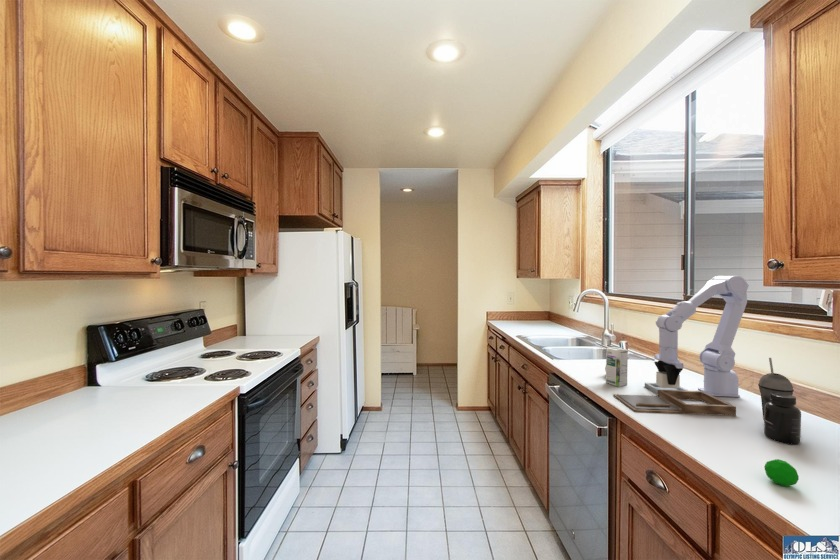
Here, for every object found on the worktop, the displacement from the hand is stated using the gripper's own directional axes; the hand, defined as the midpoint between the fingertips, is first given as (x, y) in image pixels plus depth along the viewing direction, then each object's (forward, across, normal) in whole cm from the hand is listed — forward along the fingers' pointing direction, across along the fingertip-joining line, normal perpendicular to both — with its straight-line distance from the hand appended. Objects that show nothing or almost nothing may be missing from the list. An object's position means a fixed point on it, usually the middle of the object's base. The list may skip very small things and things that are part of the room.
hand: (667, 382), depth 132 cm
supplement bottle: (+4, +38, +7) cm, 39 cm away
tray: (+3, 0, 0) cm, 3 cm away
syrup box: (+4, -8, -15) cm, 17 cm away
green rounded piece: (+4, +60, -12) cm, 61 cm away
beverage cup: (+4, +30, +12) cm, 33 cm away
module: (+1, 0, 0) cm, 1 cm away
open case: (+3, +15, -8) cm, 17 cm away
